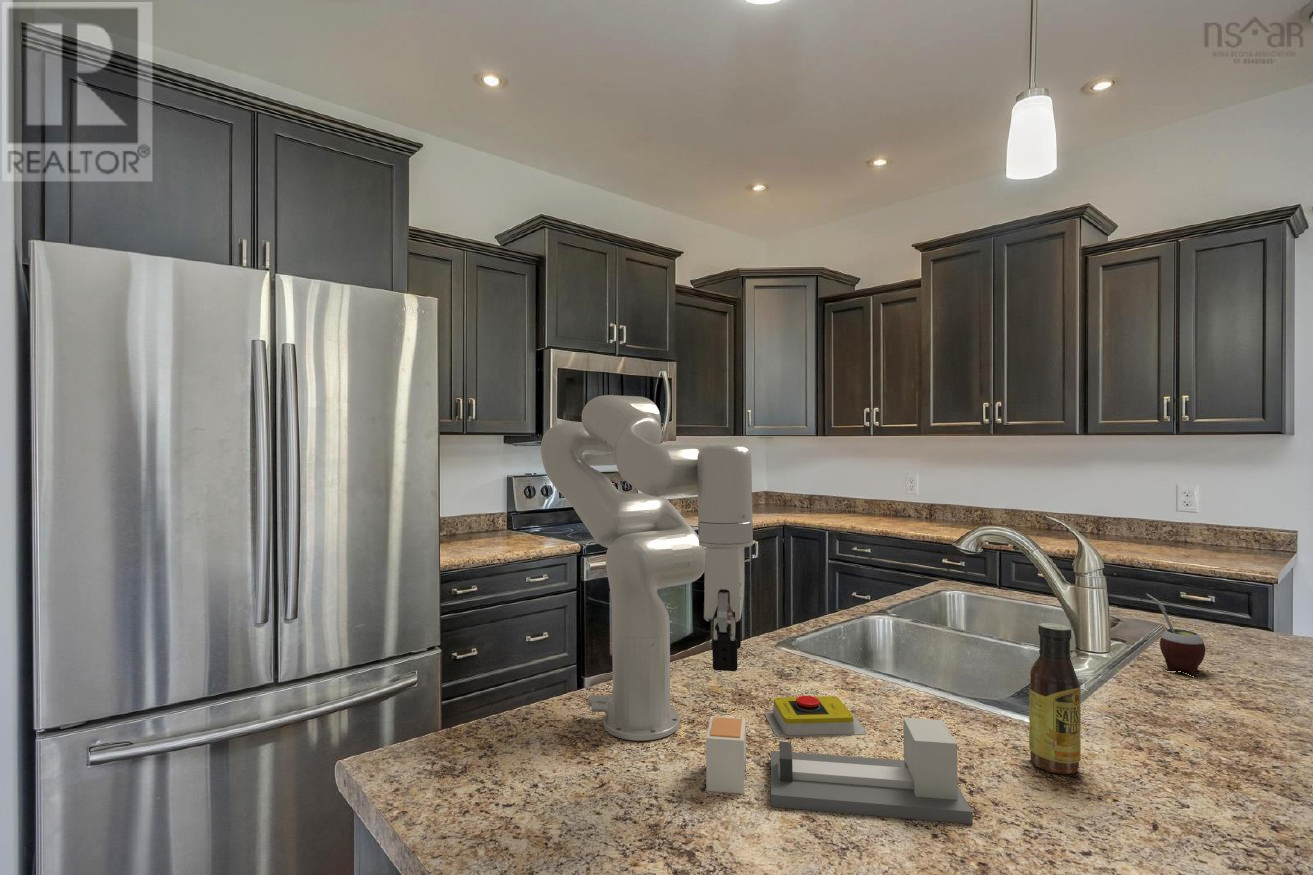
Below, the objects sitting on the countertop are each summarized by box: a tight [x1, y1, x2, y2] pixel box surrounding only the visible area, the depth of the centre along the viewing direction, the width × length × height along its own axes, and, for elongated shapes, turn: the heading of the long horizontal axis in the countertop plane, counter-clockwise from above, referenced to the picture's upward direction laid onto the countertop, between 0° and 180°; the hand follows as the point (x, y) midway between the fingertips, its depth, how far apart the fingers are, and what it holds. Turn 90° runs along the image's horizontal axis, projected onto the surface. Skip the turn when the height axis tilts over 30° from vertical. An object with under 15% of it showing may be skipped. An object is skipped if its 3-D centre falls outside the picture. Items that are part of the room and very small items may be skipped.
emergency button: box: [764, 695, 868, 738], centre depth 106 cm, size 9×4×15 cm
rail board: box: [770, 717, 974, 825], centre depth 86 cm, size 24×12×8 cm, turn 80°
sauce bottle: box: [1028, 622, 1082, 775], centre depth 92 cm, size 6×6×20 cm
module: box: [705, 715, 747, 795], centre depth 89 cm, size 5×7×7 cm
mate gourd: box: [1145, 593, 1206, 678], centre depth 129 cm, size 8×8×15 cm
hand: (727, 658), depth 89 cm, fingers open, 9 cm apart
